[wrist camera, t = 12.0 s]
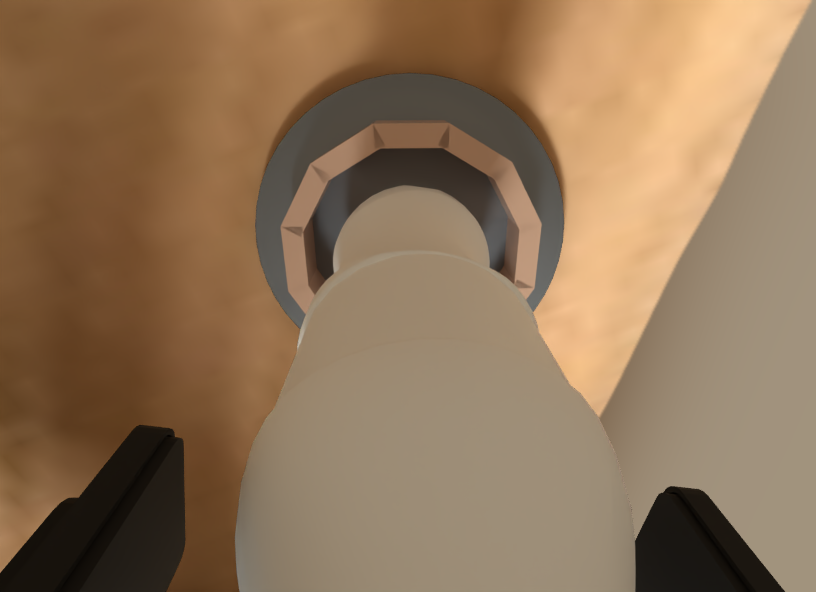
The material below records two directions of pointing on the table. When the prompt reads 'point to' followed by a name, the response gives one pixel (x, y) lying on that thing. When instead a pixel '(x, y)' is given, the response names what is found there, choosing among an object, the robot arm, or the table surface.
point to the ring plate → (407, 179)
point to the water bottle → (428, 431)
